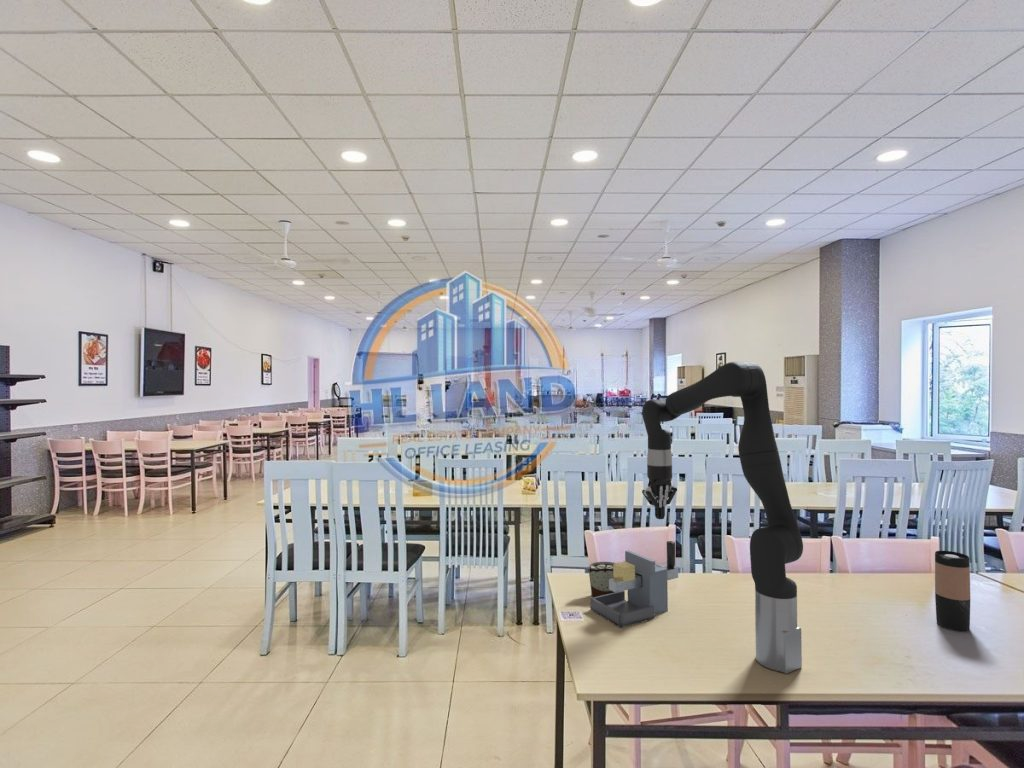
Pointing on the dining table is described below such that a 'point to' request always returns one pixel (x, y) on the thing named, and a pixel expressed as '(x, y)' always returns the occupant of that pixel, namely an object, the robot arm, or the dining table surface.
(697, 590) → the dining table surface
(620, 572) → the block
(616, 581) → the grey lever black handle
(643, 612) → the tray
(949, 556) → the travel mug
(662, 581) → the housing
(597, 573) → the food container
